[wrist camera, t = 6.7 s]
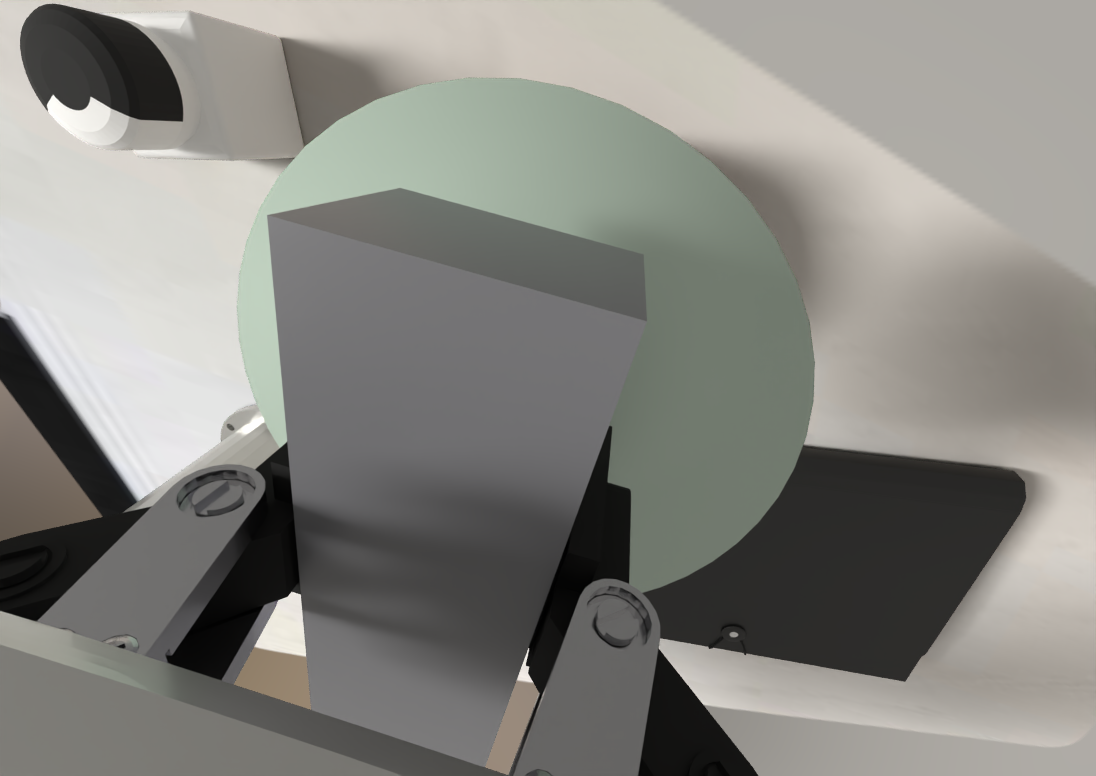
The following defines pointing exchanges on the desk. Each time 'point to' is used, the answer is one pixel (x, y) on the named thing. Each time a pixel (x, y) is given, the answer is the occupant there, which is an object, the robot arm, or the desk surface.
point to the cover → (505, 378)
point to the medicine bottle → (162, 83)
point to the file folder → (849, 564)
